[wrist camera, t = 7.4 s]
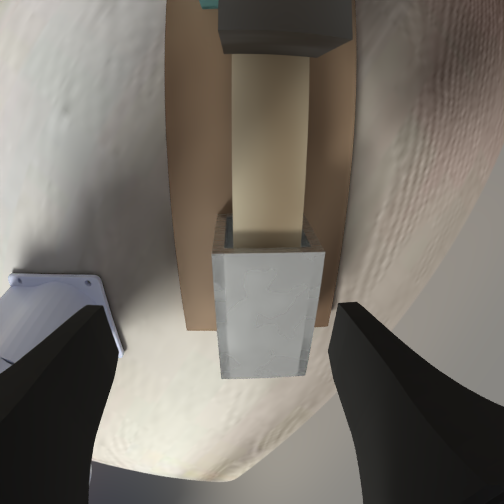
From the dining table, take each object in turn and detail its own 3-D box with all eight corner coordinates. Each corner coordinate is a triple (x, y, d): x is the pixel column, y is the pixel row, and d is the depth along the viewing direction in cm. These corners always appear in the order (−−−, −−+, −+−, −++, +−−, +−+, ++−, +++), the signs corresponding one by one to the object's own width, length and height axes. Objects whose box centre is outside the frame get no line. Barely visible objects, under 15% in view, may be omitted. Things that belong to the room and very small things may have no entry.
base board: (188, 319, 22) (186, 330, 21) (172, -23, 11) (168, -31, 10) (324, 315, 22) (327, 326, 21) (346, -17, 12) (353, -23, 11)
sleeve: (223, 325, 21) (221, 378, 16) (217, 213, 17) (211, 253, 13) (293, 323, 21) (305, 375, 17) (303, 212, 17) (325, 252, 13)
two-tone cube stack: (228, 228, 16) (223, 310, 10) (228, -28, 10) (223, -103, 4) (295, 228, 17) (328, 307, 10) (300, -25, 10) (341, -92, 4)
